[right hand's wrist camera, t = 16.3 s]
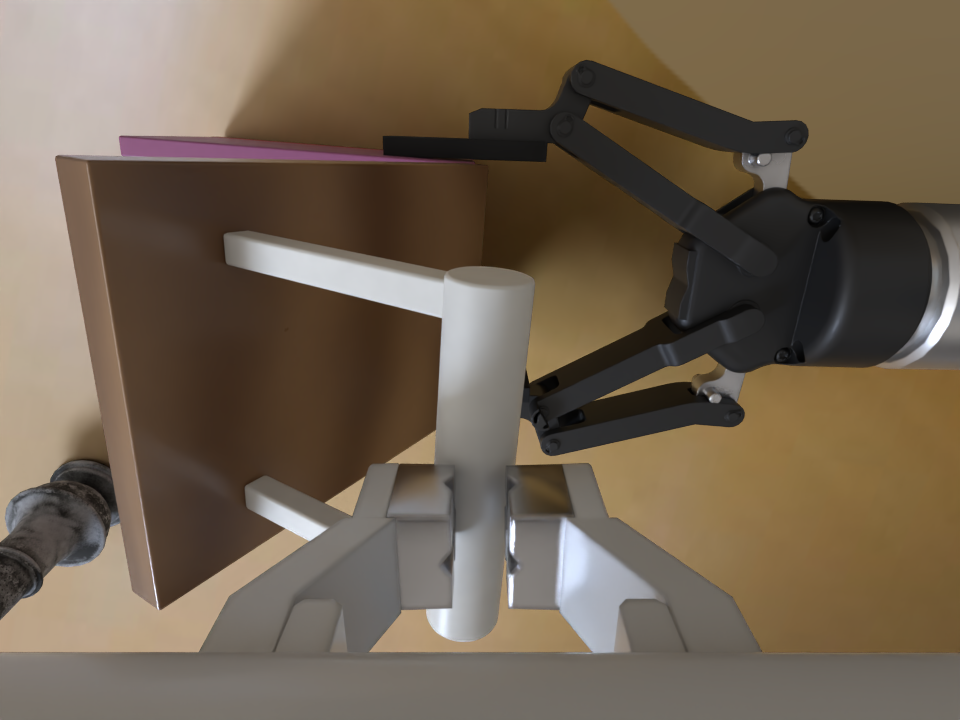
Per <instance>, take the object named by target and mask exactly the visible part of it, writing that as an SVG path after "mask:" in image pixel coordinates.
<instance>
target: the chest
mask: <svg viewBox="0 0 960 720" xmlns="http://www.w3.org/2000/svg"><path fill="white" fill-rule="evenodd" d="M119 142H120V149H121V155H122V156H135V157H186V158H236V159H287V160H337V161H388V162H438V163H469V164H475V162H474V161H473V159H447V158H419V157H400V156H388V155H383V150H381V149H368V148H355V147H343V146H330V145H317V144H305V143H292V142H279V141H266V140H254V139H241V138H228V137H176V136H119Z"/></svg>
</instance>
